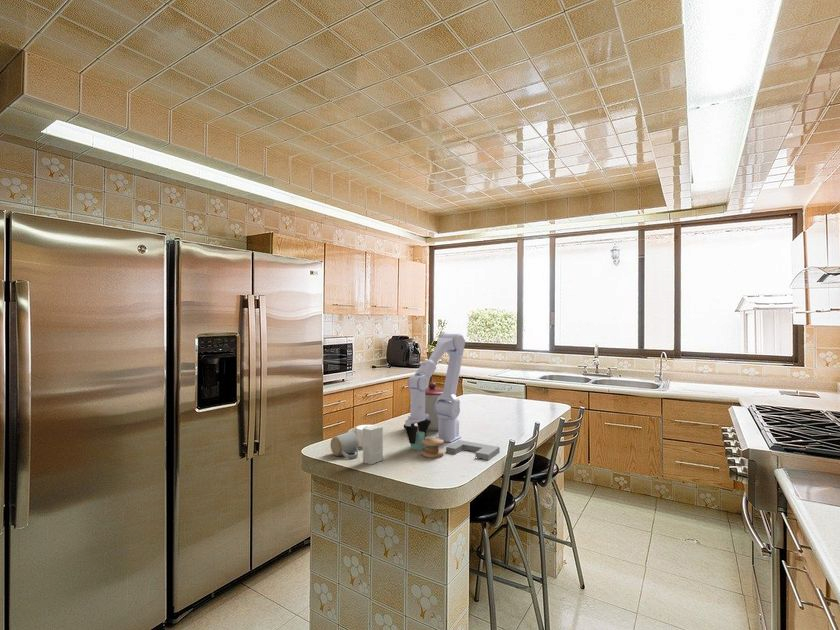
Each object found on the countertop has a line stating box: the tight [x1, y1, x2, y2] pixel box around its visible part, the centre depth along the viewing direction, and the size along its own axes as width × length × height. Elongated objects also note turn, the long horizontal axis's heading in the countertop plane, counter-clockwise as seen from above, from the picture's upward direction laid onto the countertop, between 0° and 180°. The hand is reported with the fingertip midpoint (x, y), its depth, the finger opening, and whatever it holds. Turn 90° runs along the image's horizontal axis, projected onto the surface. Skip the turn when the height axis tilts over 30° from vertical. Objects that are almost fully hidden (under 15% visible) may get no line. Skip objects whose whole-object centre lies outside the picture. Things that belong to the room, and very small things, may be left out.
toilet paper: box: [347, 424, 374, 448], centre depth 171 cm, size 8×11×7 cm
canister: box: [416, 381, 451, 432], centre depth 198 cm, size 18×18×21 cm
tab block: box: [409, 430, 426, 451], centre depth 168 cm, size 4×4×6 cm
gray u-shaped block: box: [445, 439, 501, 461], centre depth 163 cm, size 11×17×2 cm, turn 59°
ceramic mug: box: [329, 431, 359, 460], centre depth 159 cm, size 11×8×8 cm
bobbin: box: [421, 437, 445, 459], centre depth 160 cm, size 8×8×5 cm
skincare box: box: [362, 424, 384, 465], centre depth 152 cm, size 6×4×12 cm
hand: (417, 441), depth 168 cm, fingers open, 7 cm apart
